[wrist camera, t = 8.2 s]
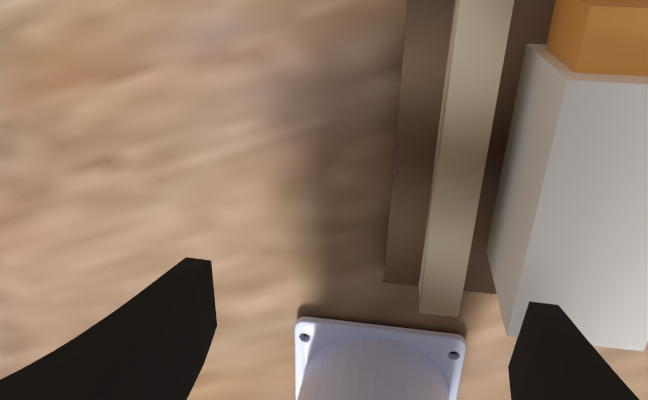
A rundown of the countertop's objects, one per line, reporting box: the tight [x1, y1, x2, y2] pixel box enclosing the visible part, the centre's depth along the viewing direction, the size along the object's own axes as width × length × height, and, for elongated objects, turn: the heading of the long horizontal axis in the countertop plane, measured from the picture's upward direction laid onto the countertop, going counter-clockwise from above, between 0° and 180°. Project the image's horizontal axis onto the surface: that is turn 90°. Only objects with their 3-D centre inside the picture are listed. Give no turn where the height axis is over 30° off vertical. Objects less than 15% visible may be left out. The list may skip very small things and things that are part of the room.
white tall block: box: [486, 0, 648, 351], centre depth 16 cm, size 10×4×5 cm, turn 179°
